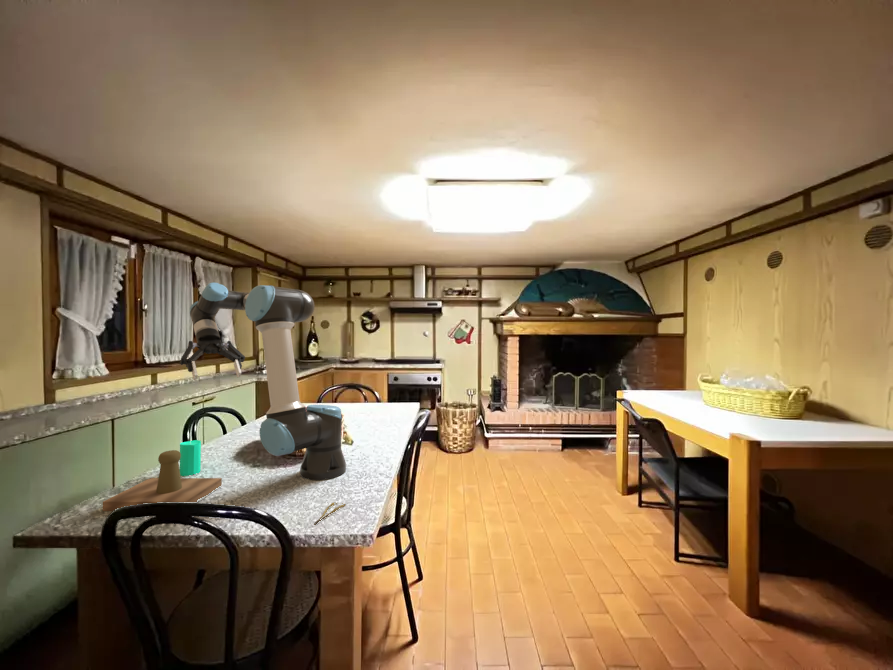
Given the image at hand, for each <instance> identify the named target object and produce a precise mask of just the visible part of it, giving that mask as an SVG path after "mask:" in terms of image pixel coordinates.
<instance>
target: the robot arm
mask: <svg viewBox="0 0 893 670" xmlns="http://www.w3.org/2000/svg"><path fill="white" fill-rule="evenodd" d="M221 309H222V310H237V311H245V315H246V317H247V319H248V320H250V321H252V322H254V324H255V329H256V330H257V331H259V332H260V333H261V337H262V346H263V351H264V352H263V353H264V354H263V355H264V361H265V370H266V371H265V372H266V379H267V389H268V394H269V395H268V396H269V403H270V404H269V405H270V407H269V409H268V410H267V411H266V413H265V416H266V418H265V419H264V420H263V421H262V422H261V423H260V427H259V439H260V442H261V444H262V446H263V448H264V449H265V450H266V451H267V453H269V454H270V455H273V456H276V457H279V456H284V455H291V454H292V453H294V452H298V451H300V450H304V449H305V453H304V455H303V458H302V462H301V464H300V469H299V472H300V474H299V475H300V477H302V478H303V479H306V480H313V481H319V480H320V481H322V480H328V479H329V480H330V479H333V478H336V477H339V476H342V475H343V474H344V473H345V472H346V470H347V462H346V459H345V456H344V453H343V450H342V421H343V418H342V410H341V408H340V407H339V406H337V405H329V404H309V405H307V406H306V405H305V404H303V403H302V402H301V400H300V393H299V392H300V391H299V385H298V378H297V371H296V362H295V354H294V347H293V346H294V345H293V340H292V339H293V338H292V332H291V331H292V329H293V327H294V326H295V325H296V324H295V323H301V322H306V321H307V320H308V319H310V318H311V317H312V315H313V314H314V311H315V301H314V299H313V298H312V296H311V295H310V294H309V293H308V292H306V291H304V290H302V289H301V290H300V289H297V288H289V287H288V288H287V287H280V286H275V285H270V284H269V285H266V284H265V285H263V284H262V285H261V284H260V285H256V286H255V287H253V288H252V289H251V290H250V291H249V292H245V291H235V290H229V289H228V288H227V287H226V286H225V285H224V284H220V283H219V282H210V283H207V285H206V286H205V287H204V288H203V289H202V292H201V295H200V297H199V300H198V301H195V302H193V303H192V304H191V305H190V306H189V316H190V319H191V323H192V326H193V327H192V328H193V329H194V335H195V339H196V342H194V341H192V340H189V341H188V343H187V348H186V349H185V351H184V353H183V355H182V356H181V357H180V361H179V365H181V366H182V365H185V367H186V368H187V372H189V373H191V375H192V380H193V381H197V379H198V375H199V374H198V371H197V366H196V363H195V362H196V360H198V359H199V358H200V357H201V356H203V355H204V354H206V355H209V354H213V355H214V354H218V355H220V356H223V357H225V358H226V359H228V360H229V361H231V362H232V363H233V368H234V371H235V374H236V377H237V378H241V375H242V367H243V365H242V363H244V362H245V359H246V356H245V355H244V354H243V353H242V352H241V351H240V350H238V349H237V348H236V347H235V346H234V345H233V343H232V341H231V340H227V341H226V342H222V340H221V336H220V332H219V329H218V325H217V323H216V316H217V314H218V313H219V311H220V310H221ZM195 348H197V350H196V351H195V352H194V353H192V355H191V356H190V354H191V352H192V350H194V349H195ZM189 356H190V357H189Z"/></svg>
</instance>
